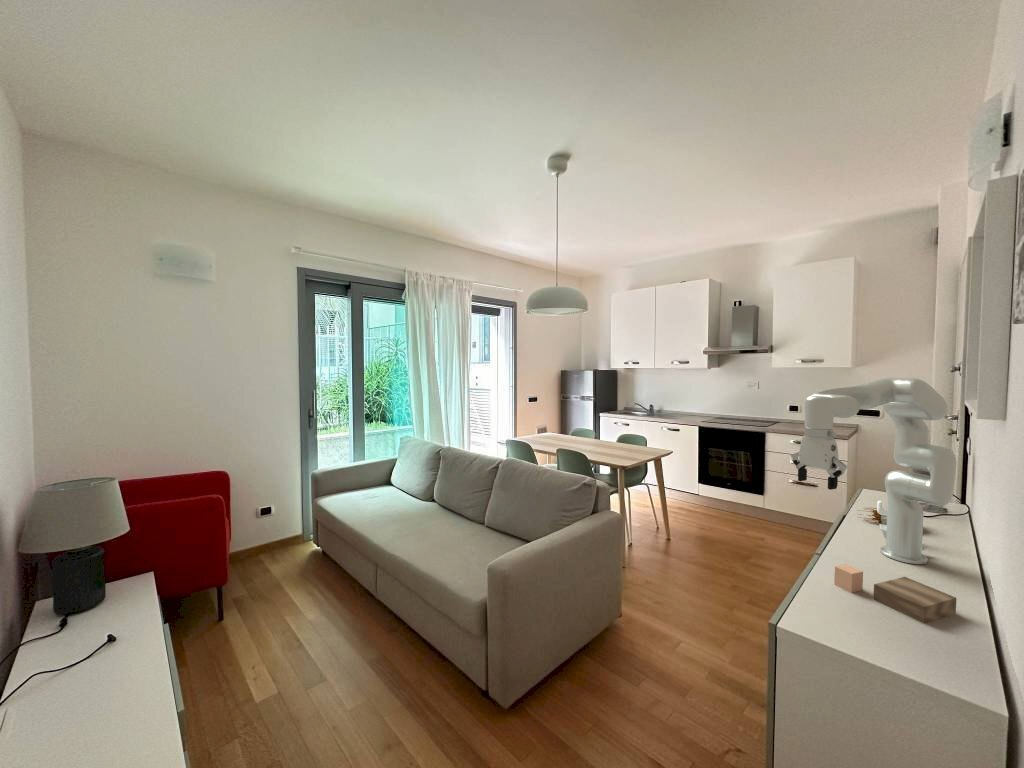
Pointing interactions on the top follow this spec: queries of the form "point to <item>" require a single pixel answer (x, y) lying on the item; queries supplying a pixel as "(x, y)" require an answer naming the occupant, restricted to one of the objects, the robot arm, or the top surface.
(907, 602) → the walnut plinth
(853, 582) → the peach block
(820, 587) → the top surface
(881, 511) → the figurine
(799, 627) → the top surface
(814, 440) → the robot arm
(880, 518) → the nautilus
